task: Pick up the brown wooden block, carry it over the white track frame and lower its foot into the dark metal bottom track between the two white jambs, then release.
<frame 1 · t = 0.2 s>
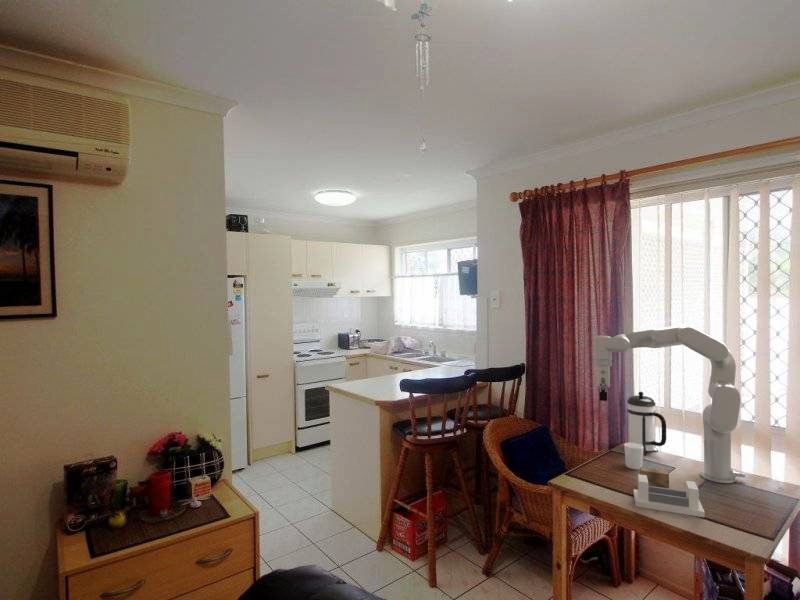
hand: (603, 398, 210), 31 cm above the table, fingers open, 9 cm apart
coffee press: (644, 451, 225), on the table
track frame: (667, 505, 169), on the table
white cup: (633, 467, 206), on the table
brown wooden block: (654, 489, 182), on the table
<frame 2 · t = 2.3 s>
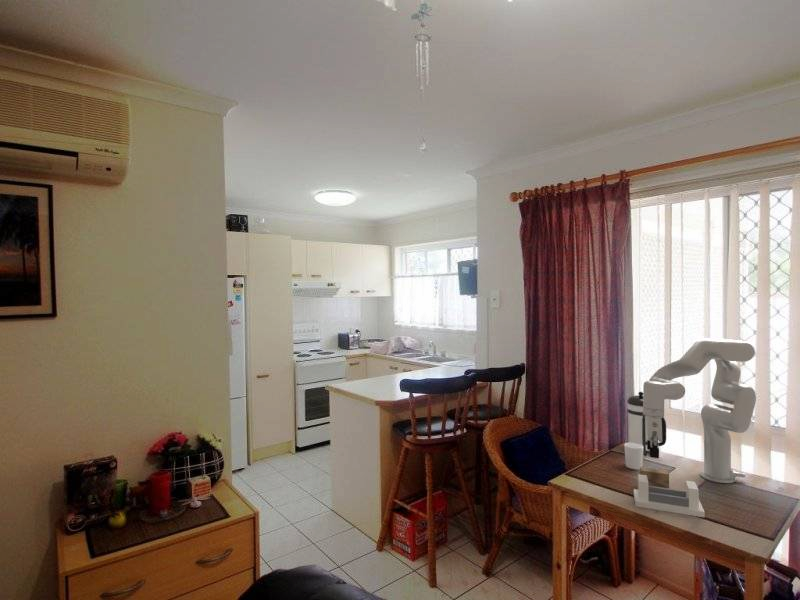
hand: (652, 453, 182), 15 cm above the table, fingers open, 9 cm apart
nothing on the table moved.
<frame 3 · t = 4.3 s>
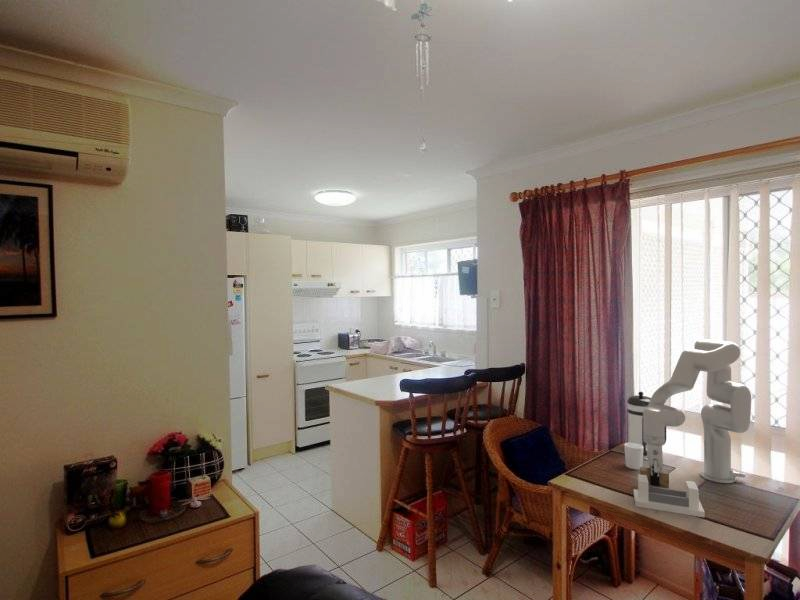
hand: (654, 482, 182), 3 cm above the table, fingers closed on brown wooden block, 4 cm apart
brown wooden block: (654, 489, 182), on the table, touching gripper
everything else where it was.
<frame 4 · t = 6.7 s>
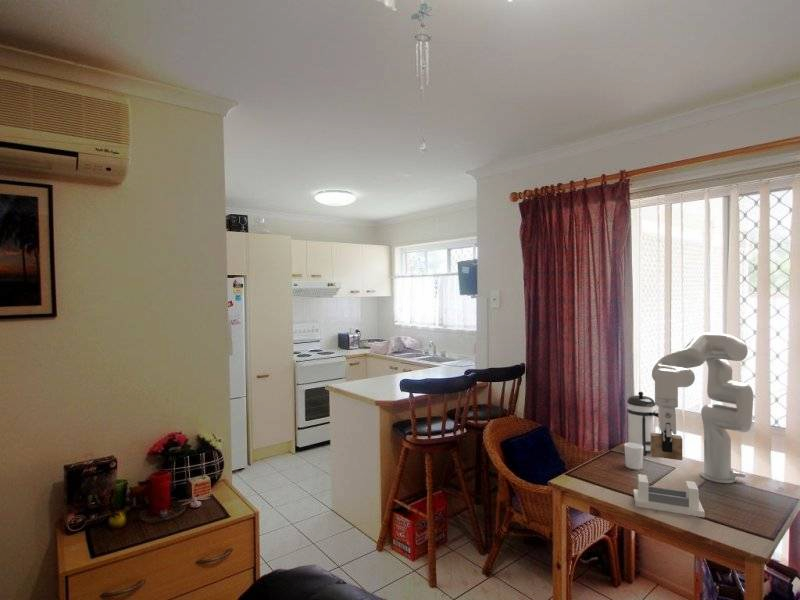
hand: (666, 449, 169), 21 cm above the table, fingers closed on brown wooden block, 4 cm apart
brown wooden block: (666, 456, 169), point 18 cm above the table, touching gripper
everything else where it was.
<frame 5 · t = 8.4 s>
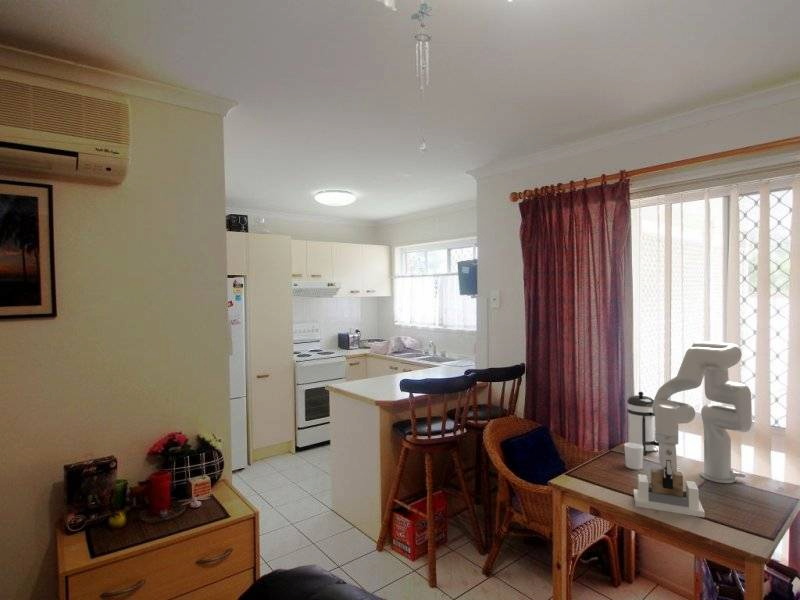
hand: (666, 485, 169), 8 cm above the table, fingers closed on brown wooden block, 4 cm apart
brown wooden block: (666, 492, 169), point 5 cm above the table, touching gripper
everything else where it was.
when the fingers open (6 cm above the table, at t = 9.4 s): brown wooden block drops 1 cm, resting on track frame.
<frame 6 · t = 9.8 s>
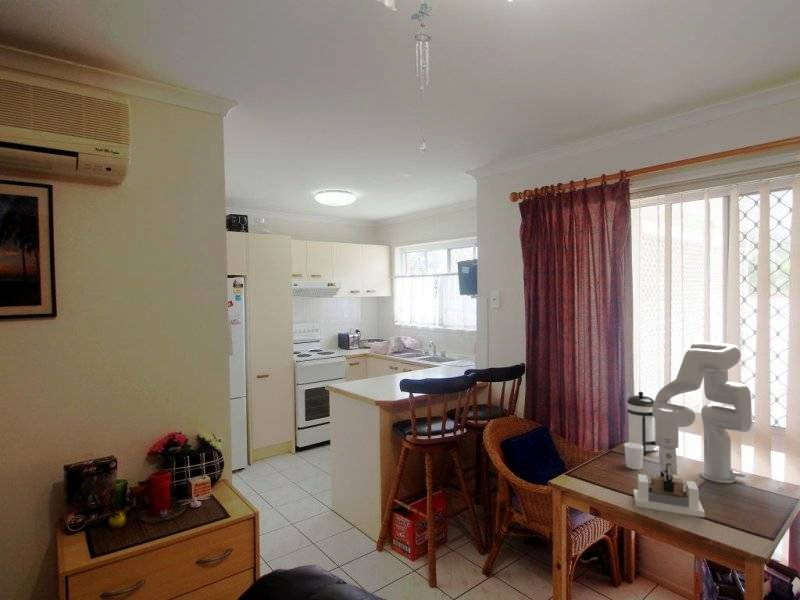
hand: (667, 486, 169), 7 cm above the table, fingers open, 8 cm apart
brown wooden block: (667, 499, 169), point 2 cm above the table, touching track frame
everything else where it was.
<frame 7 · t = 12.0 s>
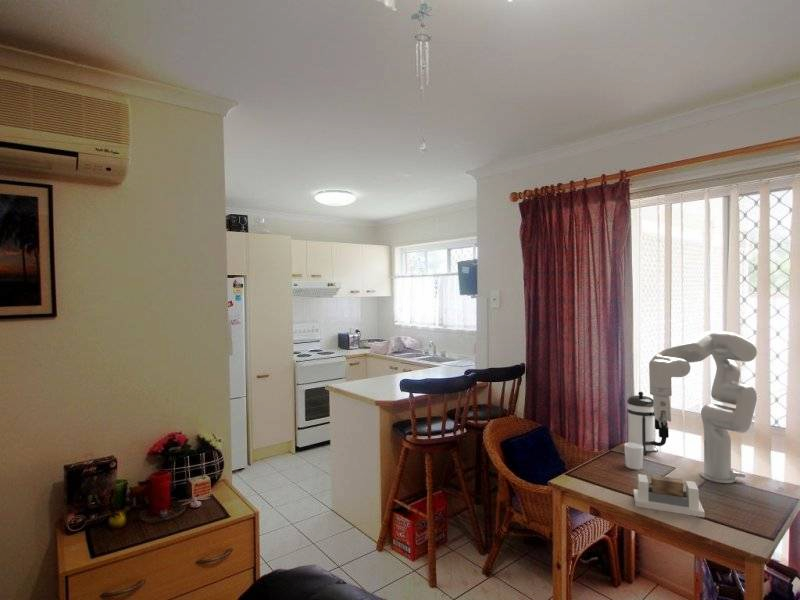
hand: (661, 433, 178), 24 cm above the table, fingers open, 9 cm apart
nothing on the table moved.
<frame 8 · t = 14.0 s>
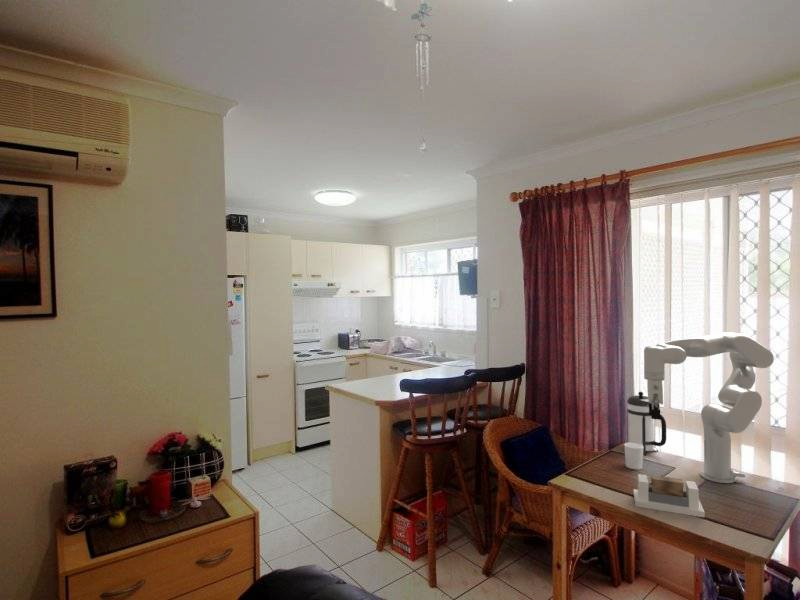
hand: (654, 415, 189), 28 cm above the table, fingers open, 9 cm apart
nothing on the table moved.
at the end: brown wooden block 0.1 cm off-centre on the track frame, point 2.0 cm above the track frame's base; brown wooden block tilted 0°; the gripper is holding nothing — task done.
